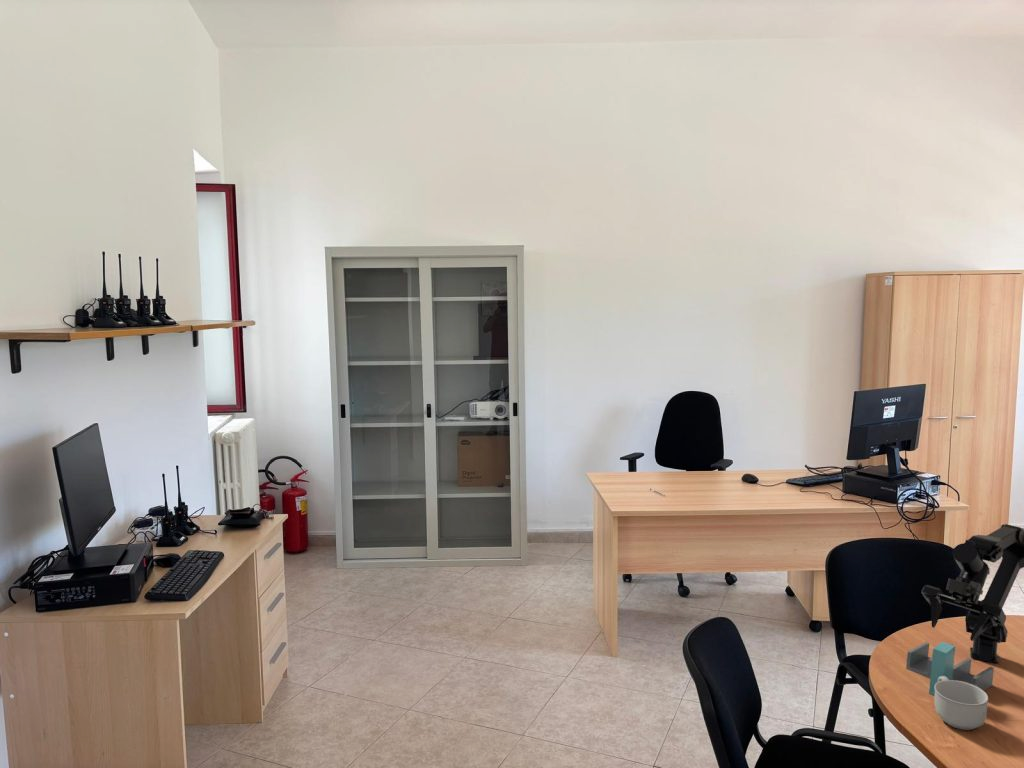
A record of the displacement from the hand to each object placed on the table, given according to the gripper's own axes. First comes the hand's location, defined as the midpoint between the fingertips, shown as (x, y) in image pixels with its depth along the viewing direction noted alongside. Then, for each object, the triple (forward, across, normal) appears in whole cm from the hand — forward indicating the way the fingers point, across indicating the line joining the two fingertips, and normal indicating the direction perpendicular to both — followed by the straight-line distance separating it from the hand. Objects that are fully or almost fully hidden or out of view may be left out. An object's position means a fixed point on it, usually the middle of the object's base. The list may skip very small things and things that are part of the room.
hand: (951, 633), depth 191 cm
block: (+14, +1, +4) cm, 15 cm away
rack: (+8, -1, +11) cm, 14 cm away
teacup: (+21, +8, -4) cm, 23 cm away
